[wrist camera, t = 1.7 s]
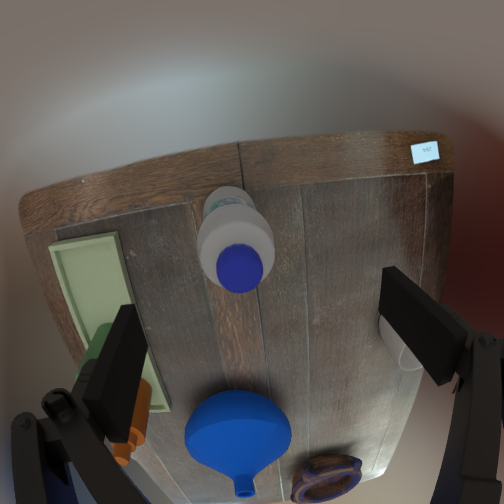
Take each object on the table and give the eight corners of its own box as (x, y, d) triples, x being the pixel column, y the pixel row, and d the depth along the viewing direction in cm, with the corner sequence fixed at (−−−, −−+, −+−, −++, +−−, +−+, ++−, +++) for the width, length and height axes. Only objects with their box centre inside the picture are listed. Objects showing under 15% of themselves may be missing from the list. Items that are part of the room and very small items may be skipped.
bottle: (239, 240, 42) (260, 329, 23) (193, 219, 40) (177, 296, 21) (263, 196, 40) (307, 255, 21) (216, 172, 38) (219, 212, 20)
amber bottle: (111, 377, 47) (90, 450, 32) (142, 372, 47) (127, 449, 32) (128, 401, 50) (114, 471, 35) (158, 396, 50) (149, 470, 35)
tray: (54, 241, 38) (48, 246, 36) (117, 230, 39) (113, 235, 37) (120, 405, 51) (118, 412, 49) (171, 404, 52) (170, 411, 50)
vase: (270, 361, 50) (294, 455, 32) (290, 420, 57) (312, 497, 39) (169, 387, 50) (161, 479, 32) (206, 440, 57) (210, 517, 39)
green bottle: (88, 327, 43) (53, 399, 28) (122, 318, 43) (93, 395, 28) (107, 357, 46) (82, 432, 31) (140, 350, 46) (121, 429, 31)
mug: (371, 303, 48) (400, 338, 39) (415, 287, 48) (448, 317, 39) (372, 357, 53) (394, 393, 44) (412, 341, 53) (437, 373, 44)
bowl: (362, 438, 65) (375, 468, 55) (340, 471, 71) (350, 497, 62) (294, 448, 62) (303, 482, 53) (280, 480, 68) (287, 508, 59)
